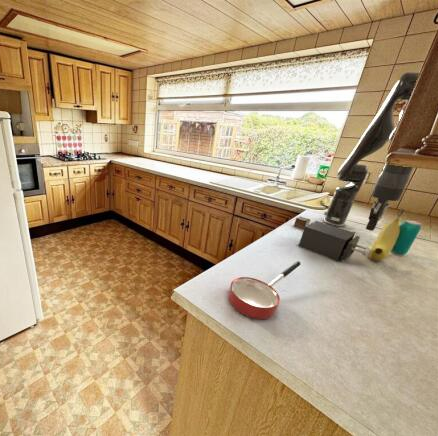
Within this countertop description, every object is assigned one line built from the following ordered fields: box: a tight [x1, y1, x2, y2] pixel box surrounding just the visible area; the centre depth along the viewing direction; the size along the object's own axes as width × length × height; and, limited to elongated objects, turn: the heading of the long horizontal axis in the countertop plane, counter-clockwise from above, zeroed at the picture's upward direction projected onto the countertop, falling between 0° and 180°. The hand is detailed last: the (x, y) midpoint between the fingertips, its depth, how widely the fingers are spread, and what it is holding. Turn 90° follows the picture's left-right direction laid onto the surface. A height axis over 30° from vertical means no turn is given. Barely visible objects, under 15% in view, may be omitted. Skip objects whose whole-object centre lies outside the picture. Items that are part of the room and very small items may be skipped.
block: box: [293, 216, 311, 231], centre depth 123 cm, size 5×5×5 cm
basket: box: [340, 235, 371, 262], centre depth 97 cm, size 18×11×8 cm, turn 37°
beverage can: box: [390, 219, 423, 257], centre depth 100 cm, size 6×6×15 cm
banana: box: [368, 208, 405, 262], centre depth 95 cm, size 23×6×20 cm, turn 129°
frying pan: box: [228, 260, 301, 320], centre depth 73 cm, size 32×13×6 cm, turn 130°
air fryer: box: [298, 220, 356, 262], centre depth 101 cm, size 15×13×10 cm
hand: (369, 229), depth 89 cm, fingers closed
